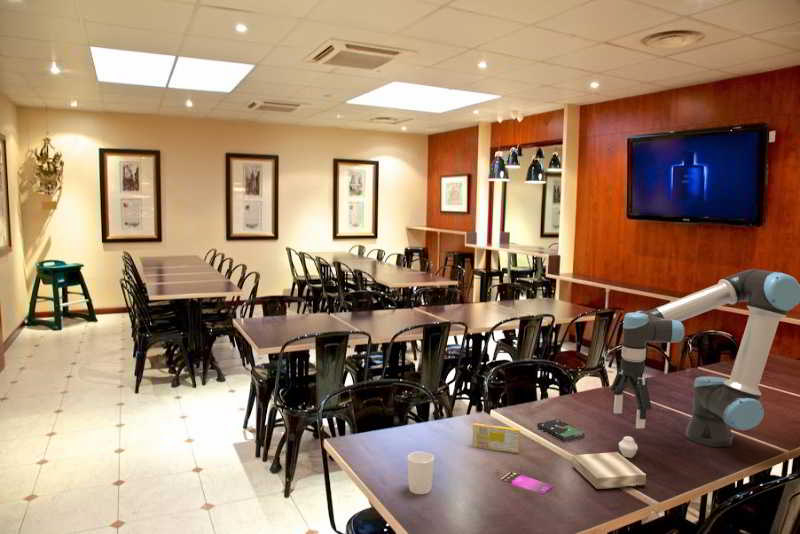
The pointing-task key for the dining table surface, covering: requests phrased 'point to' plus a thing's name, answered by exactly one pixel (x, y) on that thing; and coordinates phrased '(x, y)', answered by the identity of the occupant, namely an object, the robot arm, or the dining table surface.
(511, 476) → the smartphone
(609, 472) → the beige satin panel
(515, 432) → the candy box
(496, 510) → the dining table surface
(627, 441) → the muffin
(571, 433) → the disk drive
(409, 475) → the white cup
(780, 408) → the dining table surface
